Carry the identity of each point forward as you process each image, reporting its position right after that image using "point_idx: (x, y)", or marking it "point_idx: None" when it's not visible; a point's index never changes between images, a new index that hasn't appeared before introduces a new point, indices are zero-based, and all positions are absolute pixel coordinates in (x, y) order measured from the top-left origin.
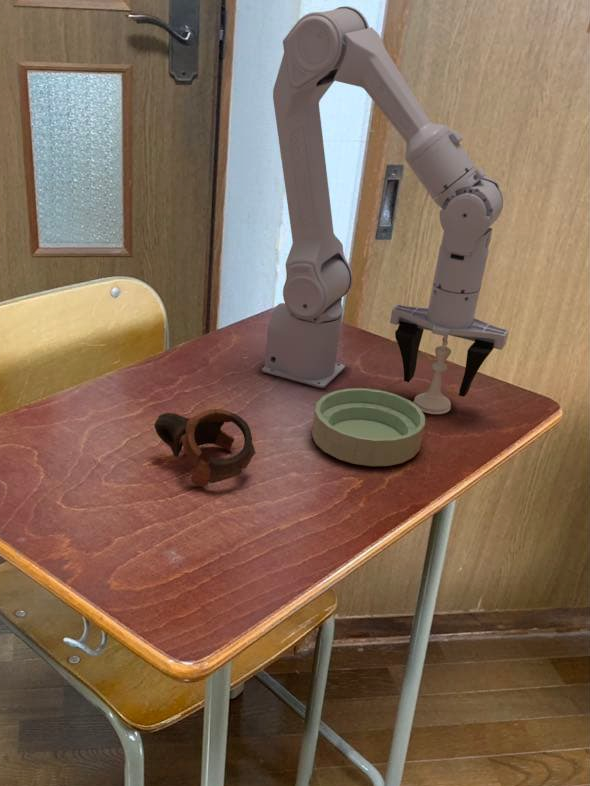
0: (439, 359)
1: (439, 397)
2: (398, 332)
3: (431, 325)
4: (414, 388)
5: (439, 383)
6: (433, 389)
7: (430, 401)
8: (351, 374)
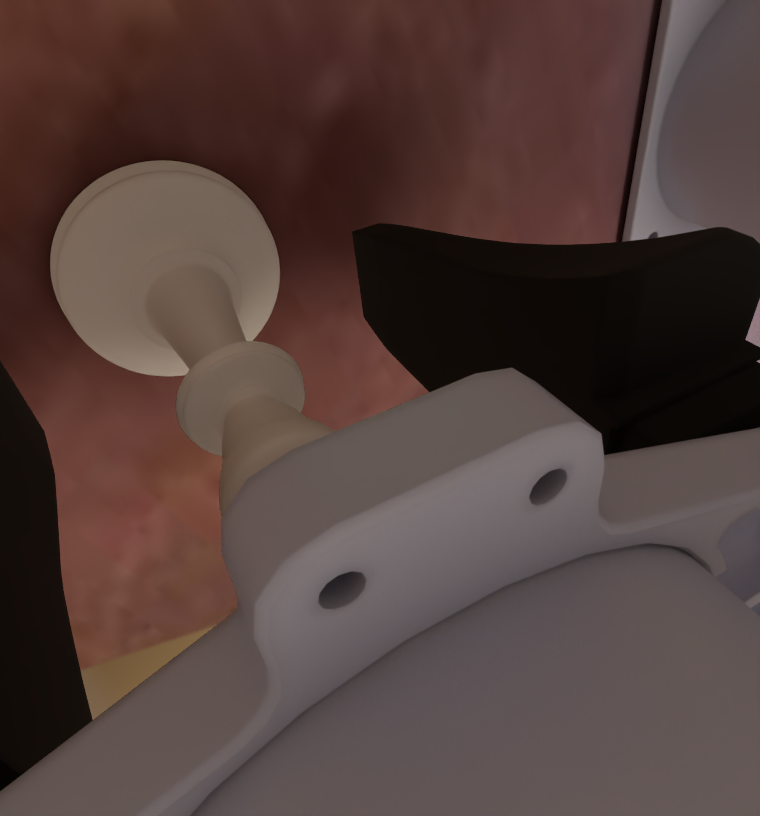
0: (262, 409)
1: (137, 294)
2: (745, 275)
3: (615, 507)
4: (338, 351)
5: (178, 334)
6: (191, 290)
7: (163, 238)
8: (585, 236)
